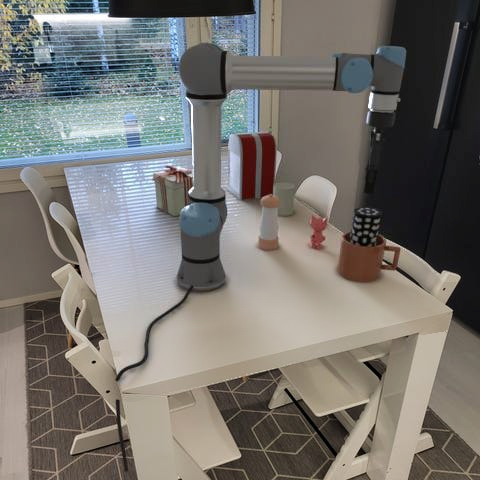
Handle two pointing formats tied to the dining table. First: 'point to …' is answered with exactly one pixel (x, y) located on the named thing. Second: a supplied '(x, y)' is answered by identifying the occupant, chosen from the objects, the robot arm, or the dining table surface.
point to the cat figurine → (317, 231)
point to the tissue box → (251, 164)
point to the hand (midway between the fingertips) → (368, 186)
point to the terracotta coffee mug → (364, 259)
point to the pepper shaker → (269, 223)
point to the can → (284, 197)
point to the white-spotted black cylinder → (365, 226)
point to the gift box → (173, 189)
